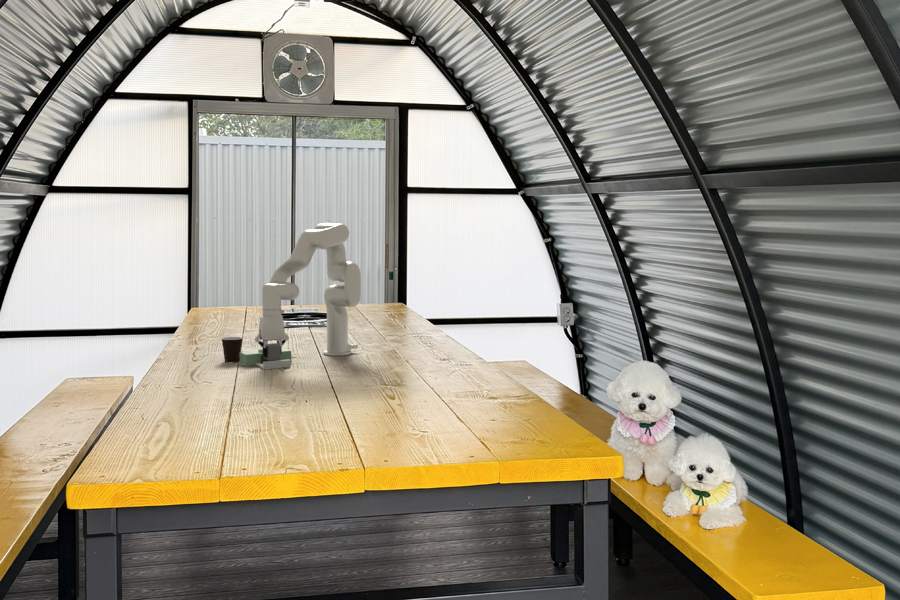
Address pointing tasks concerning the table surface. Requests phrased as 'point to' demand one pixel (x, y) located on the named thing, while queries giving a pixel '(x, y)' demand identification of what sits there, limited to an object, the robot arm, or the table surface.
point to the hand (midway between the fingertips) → (272, 355)
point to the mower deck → (257, 359)
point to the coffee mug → (232, 348)
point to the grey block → (273, 352)
